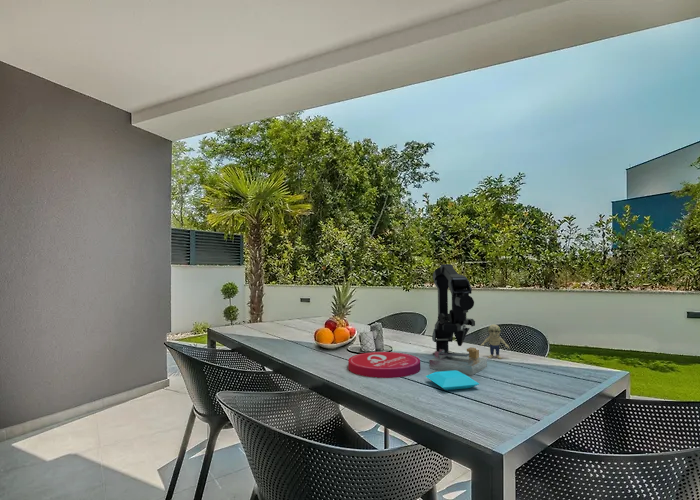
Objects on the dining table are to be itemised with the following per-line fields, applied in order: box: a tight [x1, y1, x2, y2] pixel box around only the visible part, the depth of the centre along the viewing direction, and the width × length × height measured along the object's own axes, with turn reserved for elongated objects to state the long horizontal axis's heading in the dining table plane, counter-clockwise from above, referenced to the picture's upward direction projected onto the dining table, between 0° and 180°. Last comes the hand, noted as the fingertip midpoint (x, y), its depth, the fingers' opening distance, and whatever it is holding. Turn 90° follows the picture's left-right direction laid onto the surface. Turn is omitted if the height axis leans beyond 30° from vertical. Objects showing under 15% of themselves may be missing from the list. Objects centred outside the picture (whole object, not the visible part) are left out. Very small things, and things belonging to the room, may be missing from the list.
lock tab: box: [466, 347, 480, 359], centre depth 169 cm, size 6×3×4 cm, turn 141°
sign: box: [347, 351, 421, 379], centre depth 170 cm, size 30×4×30 cm
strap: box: [440, 351, 469, 357], centre depth 167 cm, size 3×13×1 cm, turn 51°
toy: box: [480, 323, 510, 360], centre depth 186 cm, size 13×6×15 cm, turn 68°
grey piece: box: [429, 349, 488, 376], centre depth 169 cm, size 16×18×7 cm
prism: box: [425, 370, 480, 391], centre depth 145 cm, size 14×14×5 cm
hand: (459, 345), depth 165 cm, fingers closed
